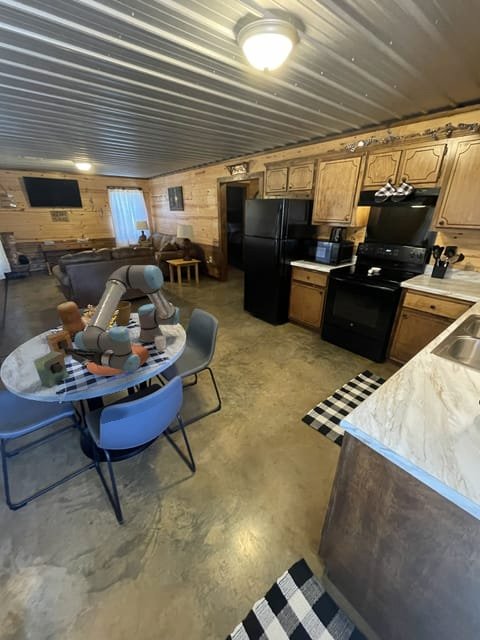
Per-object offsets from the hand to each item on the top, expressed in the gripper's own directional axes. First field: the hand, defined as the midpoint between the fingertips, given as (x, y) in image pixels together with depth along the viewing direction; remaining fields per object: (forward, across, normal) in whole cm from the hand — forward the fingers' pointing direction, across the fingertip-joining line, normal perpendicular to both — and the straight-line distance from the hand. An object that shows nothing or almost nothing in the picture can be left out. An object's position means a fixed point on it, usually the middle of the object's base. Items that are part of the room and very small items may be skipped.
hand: (66, 350), depth 123 cm
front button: (+10, 0, -14) cm, 17 cm away
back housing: (+33, +21, -20) cm, 43 cm away
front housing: (+14, 0, -20) cm, 24 cm away
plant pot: (+29, +69, -20) cm, 78 cm away
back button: (+29, +20, -14) cm, 38 cm away
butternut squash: (+45, +42, -20) cm, 65 cm away
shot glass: (-19, +46, -20) cm, 54 cm away
